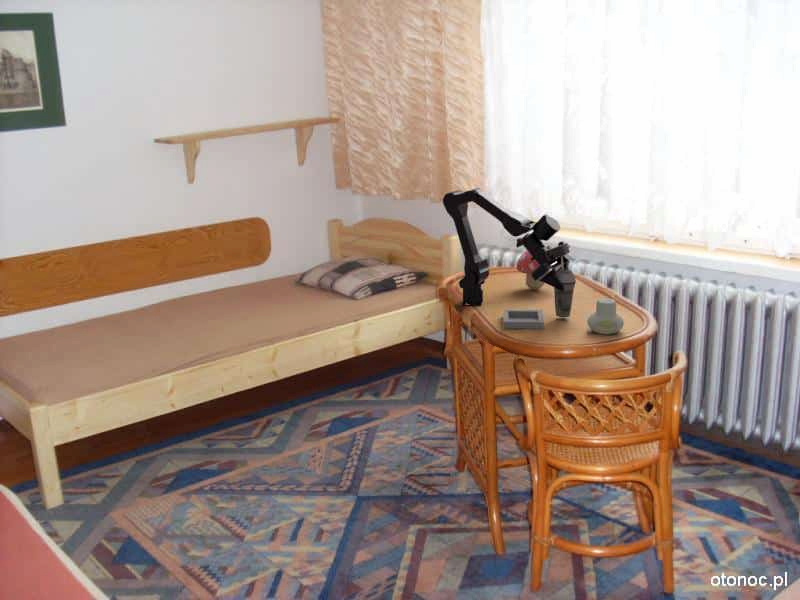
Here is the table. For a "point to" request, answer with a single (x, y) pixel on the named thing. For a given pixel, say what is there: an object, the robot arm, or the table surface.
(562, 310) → the beverage cup
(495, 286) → the table surface
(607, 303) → the air freshener
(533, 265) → the decorative mushroom
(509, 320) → the tray
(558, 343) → the table surface
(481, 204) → the robot arm
